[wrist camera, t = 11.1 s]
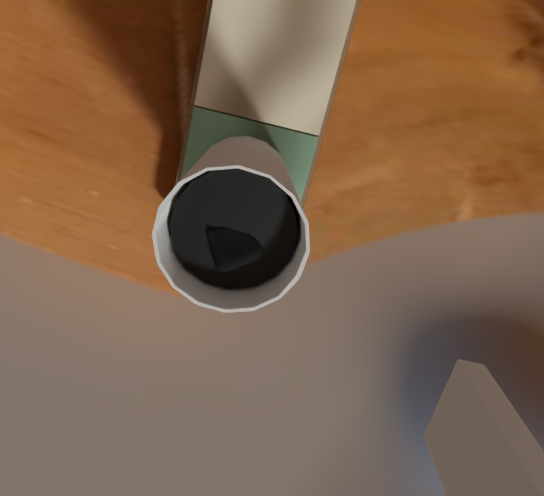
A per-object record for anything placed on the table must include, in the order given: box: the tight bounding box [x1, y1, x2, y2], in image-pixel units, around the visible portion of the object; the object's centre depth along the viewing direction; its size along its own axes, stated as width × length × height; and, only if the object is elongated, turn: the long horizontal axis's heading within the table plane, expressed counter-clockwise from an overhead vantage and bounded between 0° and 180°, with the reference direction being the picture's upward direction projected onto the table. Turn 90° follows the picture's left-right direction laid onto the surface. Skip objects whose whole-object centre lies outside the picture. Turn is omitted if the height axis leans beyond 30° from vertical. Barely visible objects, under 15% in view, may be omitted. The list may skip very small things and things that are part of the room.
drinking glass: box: [152, 136, 310, 313], centre depth 26 cm, size 7×7×10 cm
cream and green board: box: [175, 0, 361, 208], centre depth 30 cm, size 8×15×2 cm, turn 166°
